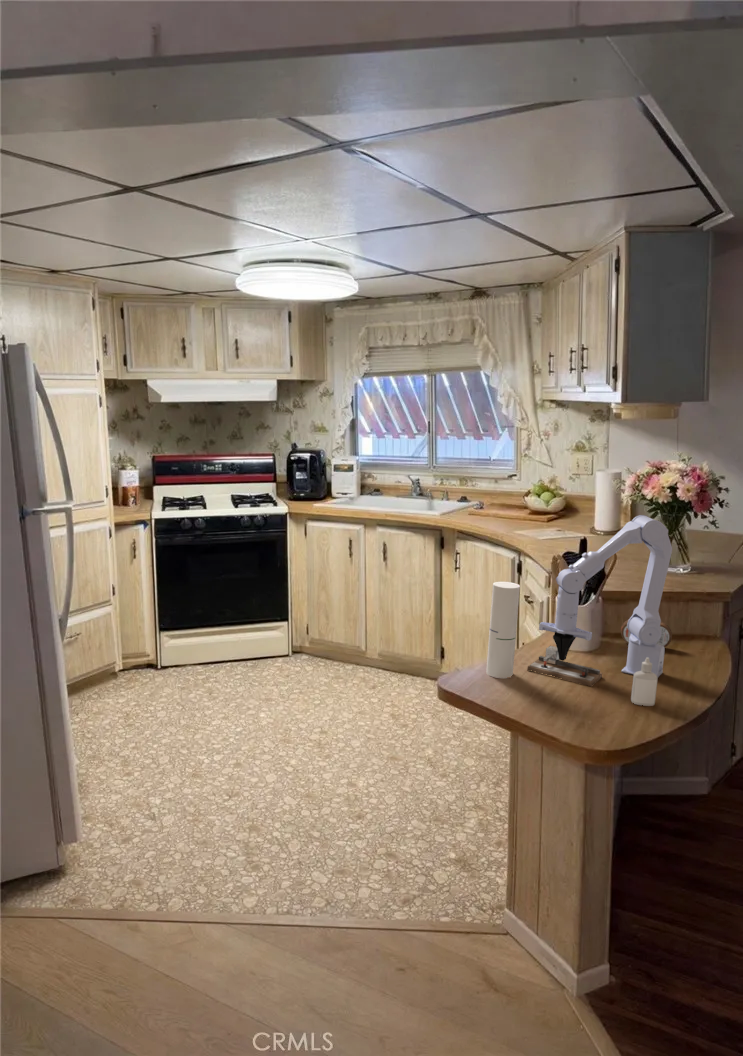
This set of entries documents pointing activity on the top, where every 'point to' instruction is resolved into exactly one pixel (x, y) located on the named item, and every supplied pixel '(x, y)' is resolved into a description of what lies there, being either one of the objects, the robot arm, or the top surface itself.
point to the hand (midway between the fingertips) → (562, 659)
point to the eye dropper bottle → (644, 685)
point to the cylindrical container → (502, 629)
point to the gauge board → (567, 671)
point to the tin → (663, 641)
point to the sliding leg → (551, 655)
